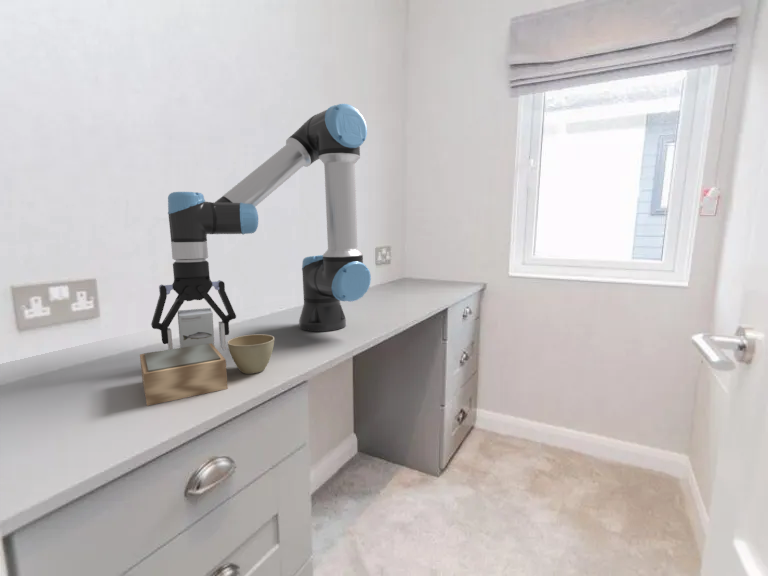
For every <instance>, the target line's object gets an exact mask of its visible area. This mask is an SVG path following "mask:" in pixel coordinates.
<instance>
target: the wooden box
mask: <svg viewBox="0 0 768 576" xmlns="http://www.w3.org/2000/svg"><path fill="white" fill-rule="evenodd" d="M139 359H140V360H139V361H140V370H141V371H140V372H141V380H142V387H143V392H144V396H145V402H146V406H147V407H149V406H153V405H157V404H162V403H167V402H172V401H176V400H177V401H178V400H180V399H187V398H190V397H195V396H199V395H204V394H209V393H213V392H217V391H223V390H227V389H228V388H229V386H228V375H227V374H228V373H227V360H226V358H225V357H224V356H223V355H222V353H220V351H219V350H218V349H217V348H216V346H215V347H214V346H213V344H203V345H196V346H190V347H183V348H180V347H178V348H173V349H170V350H168V349H165V350H158V351H152V352H145V353H142V354H139Z"/></svg>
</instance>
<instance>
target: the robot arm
mask: <svg viewBox="0 0 768 576" xmlns="http://www.w3.org/2000/svg"><path fill="white" fill-rule="evenodd" d="M367 135H368V127H367V122H366V120H365V118H364V116H363V114H361V113H360V111H359V109H357V108H356V107H354V106H353V105H351V104H348V103H338V104H336V105H335V104H334V105H332V106H329V107H328V108H327V109H325V110H323V111H321V112H319V113H317V114H314V115H313V116H311V117H309V118H308V119H307V120H306V121H305V122H303V124H302V125H301V126H300V127H299V128H298V129H296V131H295V132H294V133H293V134H292V135H290V136H289V137H288V138H287V139H286V141H285V145H283V147H281V148H280V149H279V150H278V151H276V152H275V153H274V154H272V156H270V157H269V158H267V160H265V161H264V162H263V163H262V164H261V165H259V166H258V167H257V168H255V169H253V171H251V172H250V173H249V174H248V175H247V176H245V177H244V178H243V179H242V180H240V181H239V182H238V183H237V184H236V185H234V186H233V187H232V188H231V189H229V190H228V191H227V192H226V193H224V194H222V196H221V197H220V198H218V199H217V200H216V201H215V202H211V201H206V200H205V196H204V194H203V193H202V192H194V191H173V192H171V193H169V194H168V197H167V208H168V209H167V211H168V212H167V215H168V223H169V224H168V225H169V234H170V245H171V246H170V247H171V257H172V260H174V261H173V263H172V271H173V282H172V284H167V285H166V284H160V285H158V290H159V291H158V292H159V297H158V299H157V303H156V307H155V311H154V313H153V317H152V319H151V323H150V325H151V328H152V330H153V329H154V330H159V331H160V335H161V342H162V344H164V345H166V344H167V350H170V349H174V345H173V335H172V329H171V328H170V327H169V326H170V325H171V323H172V322H173V320H174V318H175V317H176V315H177V314H178V311H179V310H180V308H181V306H182V305H183V304H184V302H185V301H186V302H192V301H202V300H203V299H204V300H205V301H206V303H207V304H208V305H209V306H210V308H211V310H213V311H214V312H215V313H216V315H217V316H218V317H219V319H221V321H218V335H219V346H220V349H221V350H223V351H224V350H227V345H226V343H227V342H226V336H228V335H229V334H230V325H229V323H230V321H232V320H235V319H237V314H236V313H235V310H234V308H233V305H232V304H231V300H229V299H230V298H229V296H228V294H227V292H226V290H225V289H226V287H225V285H226V284H225V281H223V280H217V281H212V280H211V277H210V264H209V261H208V260H207V259H209V251H208V249H209V248H208V239H207V238H208V237H207V236H208V235H245V234H246V235H248V234H254V233H255V232H256V231H257V230H258V226H259V214H258V209H257V208H256V207H257V206H258V205H259V204H260V203H262V202H263V201H265V199H266V198H268V197H269V196H270V195H271V194H272V193H273V192H275V191H276V190H277V189H278V188H279V187H280V186H282V185H283V184H284V183H285V182H286V181H288V180H289V179H290V178H291V177H292V176H293V175H295V174H296V173H297V172H298V171H299V170H301V169H302V168H303V167H307V168H308V167H310V166H311V165H312V164H313V163H315V162H316V161H318V160H320V161H321V162H322V163H323V165H324V186H325V187H324V189H325V191H324V192H325V209H326V211H325V213H326V215H325V216H326V233H327V234H326V235H327V236H326V239H327V250H326V251H325V252H324V253H323V254H321V255H312V256H306V257H304V258H303V259H302V265H301V271H302V272H301V273H302V289H303V290H302V292H303V304H302V305H303V306H302V310H301V312H300V316H299V320H298V326H299V329H300V330H303V331H306V332H332V331H336V330H341V329H344V328H345V327H346V326H347V319H346V315H345V313H344V309H343V308H342V307H343V306H342V305H341V302H355V301H358V300H360V299H361V298H363V297H364V296H365V294H366V293H367V292H368V290H369V288H370V286H371V282H372V278H371V272H370V269H369V268H368V267H367V265H365V263H364V257H363V256H364V255H363V252H361V251H360V250H359V248H358V230H357V229H358V227H357V226H358V224H357V220H358V219H357V198H356V197H357V195H356V194H357V193H356V191H357V190H356V163H357V161H359V159H360V158H361V150H360V149H361V148H360V146H362V145H363V143H364V142H365V141H366V139H367ZM212 287H213V288H214V289H215V290H216V291H217V292H218V293H217V294H219V297H220V299H221V302H222V304H223V306H224V308H225V311H226V313H227V314H225V313H224V312H223V310H222V309H221V308H220V306H219V305H218V304H217V303H216V301H214V300H213V298H212V297H211V295H210V294H209V292H210V290H211V289H212ZM171 291H174V292H175V293H176V294H177V296H176V298H175V301H174V302H173V304H172V305H171V307H170V308H169V311H168V312H167V314H166V315H165V317H164V319H163V321H162V322H161V323H160V321H161V318H162V315H163V313H164V312H163V311H164V309H165V304H166V301H167V297H168V295H170V294H171Z"/></svg>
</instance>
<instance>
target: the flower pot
mask: <svg viewBox="0 0 768 576" xmlns="http://www.w3.org/2000/svg"><path fill="white" fill-rule="evenodd" d="M226 343H227V347H228V351H229V354H230V357H231V358H232V360H233V362H234V364H235V366H236V367H237V368H238V369H239V371H240V372H241V373H243V374H245V375H248V374H249V375H251V374H258V373H261V372H263V371H265V370H266V369H267V367H268V364H269V362H270V359H271V357H272V355H273V352H274V351H273V350H274V347H275V346H274V345H275V336H273V335H270V334H263V333H262V334H259V333H258V334H257V333H256V334H247V335H246V334H245V335H240V336H235V337H233V338H231V339H229V340H227V342H226Z"/></svg>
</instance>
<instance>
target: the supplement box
mask: <svg viewBox="0 0 768 576" xmlns="http://www.w3.org/2000/svg"><path fill="white" fill-rule="evenodd" d="M177 323H178V334H179V348H183V347H190V346H196V345H203V344H213V346H214V347H215V348H216V345H215V330H214V329H215V328H214V326H215V325H214V315H213V311H212V307H206V308H194V309H183V310H182V309H181V310H180V309H179V310H178V312H177Z"/></svg>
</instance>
